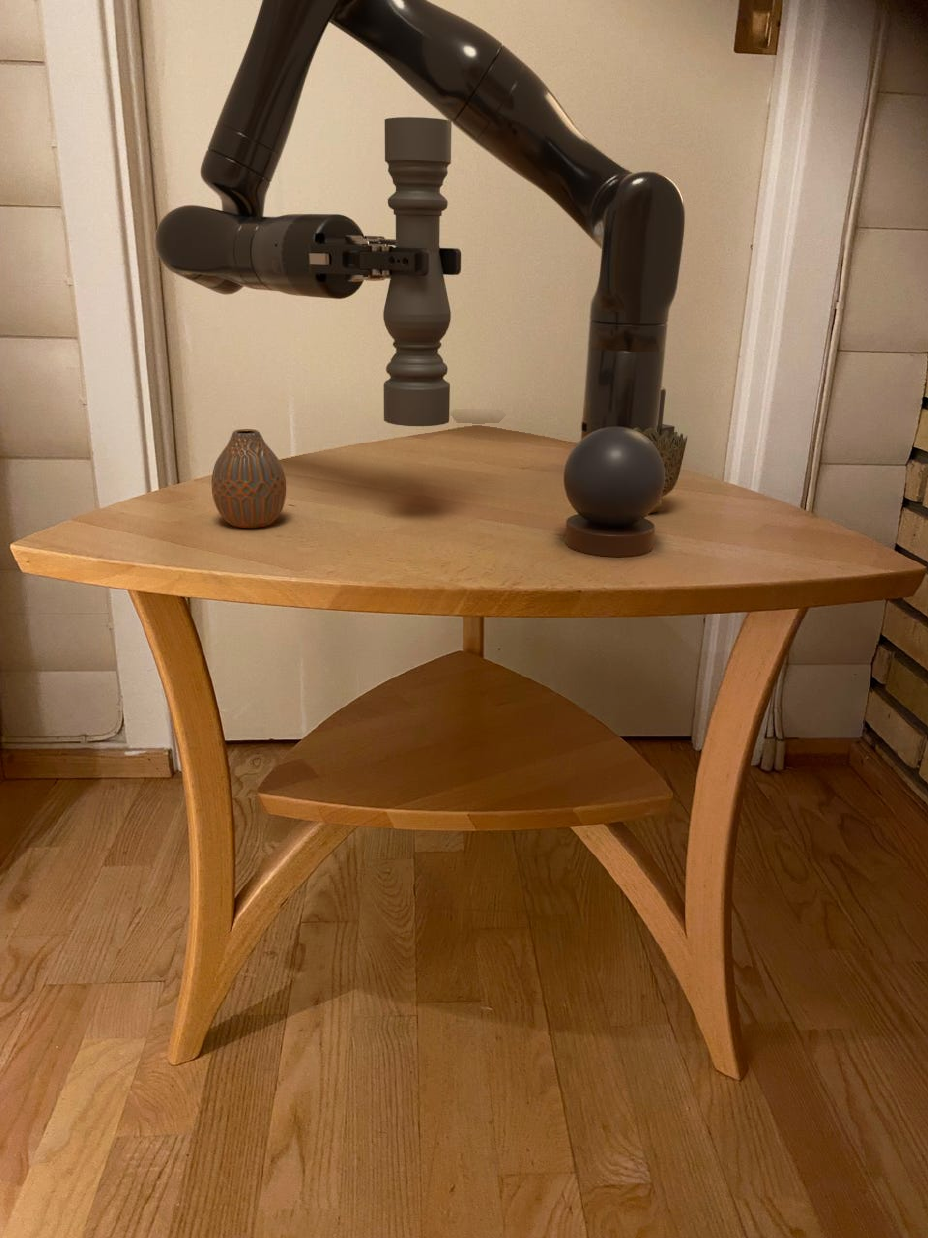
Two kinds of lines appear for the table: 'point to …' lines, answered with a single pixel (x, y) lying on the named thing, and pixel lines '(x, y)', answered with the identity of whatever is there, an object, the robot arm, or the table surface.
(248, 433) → the vase
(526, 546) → the table surface
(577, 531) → the ball on stand
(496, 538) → the table surface
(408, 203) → the candle holder
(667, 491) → the spiky textured bowl
